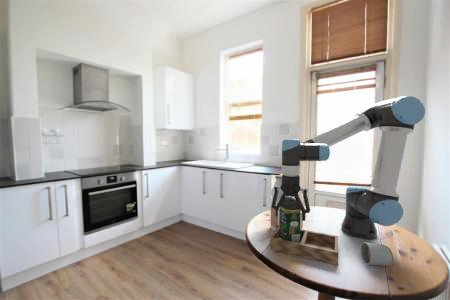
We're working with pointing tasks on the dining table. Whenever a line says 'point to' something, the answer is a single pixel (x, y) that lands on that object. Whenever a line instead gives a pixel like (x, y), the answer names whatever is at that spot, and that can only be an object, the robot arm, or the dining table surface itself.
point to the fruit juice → (273, 212)
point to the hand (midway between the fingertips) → (290, 225)
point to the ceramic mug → (376, 254)
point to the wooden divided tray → (308, 246)
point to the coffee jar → (290, 220)
